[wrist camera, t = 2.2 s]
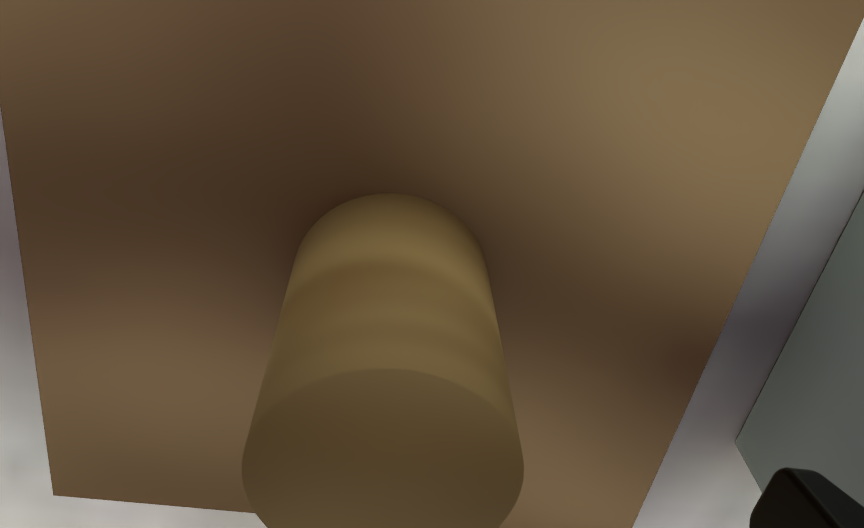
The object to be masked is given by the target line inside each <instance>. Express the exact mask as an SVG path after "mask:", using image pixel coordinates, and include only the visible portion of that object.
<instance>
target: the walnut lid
mask: <svg viewBox="0 0 864 528" xmlns="http://www.w3.org/2000/svg"><path fill="white" fill-rule="evenodd" d="M863 18H864V0H0V106H1V113H2V120H3V128H4V135H5V142H6V150H7V157H8V164H9V172H10V179H11V187H12V194H13V201H14V209H15V216H16V223H17V231H18V238H19V245H20V253H21V260H22V267H23V275H24V282H25V290H26V297H27V304H28V312H29V319H30V326H31V334H32V341H33V348H34V356H35V363H36V371H37V378H38V385H39V393H40V400H41V407H42V415H43V422H44V429H45V437H46V444H47V452H48V459H49V466H50V474H51V481H52V488H53V495H56V496H68V497H79V498H90V499H102V500H113V501H124V502H135V503H147V504H158V505H169V506H181V507H192V508H203V509H215V510H226V511H237V512H249V513H256V514H257V516H258V517H259V518H260V519H261V521H262V522H263V523H264V524H265V525H266V526H267V527H268V528H632V527H633V524H634V522H635V520H636V518H637V516H638V513H639V511H640V509H641V507H642V505H643V502H644V500H645V498H646V496H647V494H648V491H649V489H650V487H651V485H652V483H653V480H654V478H655V476H656V474H657V472H658V469H659V467H660V465H661V463H662V461H663V458H664V456H665V454H666V452H667V450H668V447H669V445H670V443H671V441H672V439H673V436H674V434H675V432H676V430H677V428H678V425H679V423H680V421H681V419H682V417H683V414H684V412H685V410H686V408H687V406H688V403H689V401H690V399H691V397H692V395H693V392H694V390H695V388H696V386H697V383H698V381H699V379H700V377H701V375H702V372H703V370H704V368H705V366H706V364H707V361H708V359H709V357H710V355H711V353H712V350H713V348H714V346H715V344H716V342H717V339H718V337H719V335H720V333H721V331H722V328H723V326H724V324H725V322H726V320H727V317H728V315H729V313H730V311H731V309H732V306H733V304H734V302H735V300H736V298H737V295H738V293H739V291H740V289H741V287H742V284H743V282H744V280H745V278H746V276H747V273H748V271H749V269H750V267H751V265H752V262H753V260H754V258H755V256H756V254H757V251H758V249H759V247H760V245H761V242H762V240H763V238H764V236H765V234H766V231H767V229H768V227H769V225H770V223H771V220H772V218H773V216H774V214H775V212H776V209H777V207H778V205H779V203H780V201H781V198H782V196H783V194H784V192H785V190H786V187H787V185H788V183H789V181H790V179H791V176H792V174H793V172H794V170H795V168H796V165H797V163H798V161H799V159H800V157H801V154H802V152H803V150H804V148H805V146H806V143H807V141H808V139H809V137H810V135H811V132H812V130H813V128H814V126H815V124H816V121H817V119H818V117H819V115H820V113H821V110H822V108H823V106H824V104H825V101H826V99H827V97H828V95H829V93H830V90H831V88H832V86H833V84H834V82H835V79H836V77H837V75H838V73H839V71H840V68H841V66H842V64H843V62H844V60H845V57H846V55H847V53H848V51H849V49H850V46H851V44H852V42H853V40H854V38H855V35H856V33H857V31H858V29H859V27H860V24H861V22H862V20H863Z"/></svg>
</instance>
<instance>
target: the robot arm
mask: <svg viewBox="0 0 864 528" xmlns="http://www.w3.org/2000/svg"><path fill="white" fill-rule="evenodd" d="M749 527H750V528H864V507H863V506H862V505H861V504H859V503H858V502H857V501H855V500H854V499H853V498H851V497H850V496H849V495H848V494H846V493H845V492H844V491H842V490H841V489H840V488H838V487H837V486H836V485H835V484H833V483H832V482H831V481H829V480H828V479H827V478H825V477H824V476H823V475H821V474H820V473H818V472H816V471H813V470H808V469H799V468H789V467H784V468H780V469H779V470H777V471H776V472H775V473H774V474H773V476H772V477H771V479H770V481H769V483H768V485H767V486H766V488H765V490H764V492H763V493H762V495H761V497H760V499H759V500H758V502H757V504H756V506H755V507H754V509H753V511H752V513H751V517H750V525H749Z"/></svg>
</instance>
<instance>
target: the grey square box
mask: <svg viewBox="0 0 864 528" xmlns="http://www.w3.org/2000/svg"><path fill="white" fill-rule="evenodd" d="M735 444H736V446H737V448H738V449H739V451H740V453H741V455H742V457H743V458H744V460H745V462H746V464H747V466H748V468H749V469H750V471H751V473H752V475H753V477H754V478H755V480H756V482H757V484H758V486H759V488H760V489H761V491H762V493H763V492H764V490H765V488H766V486H767V485H768V483H769V481H770V479H771V477H772V476H773V474H774V473H775V472H776V471H777V470H779V469H780V468H784V467H789V468H799V469H808V470H813V471H816V472H818V473H820V474H821V475H823V476H824V477H825V478H827V479H828V480H829V481H831V482H832V483H833V484H835V485H836V486H837V487H838V488H840V489H841V490H842V491H844V492H845V493H846V494H848V495H849V496H850V497H851V498H853V499H854V500H855V501H857V502H858V503H859V504H861V505H862V506H863V507H864V193H863V195H862V197H861V198H860V200H859V202H858V204H857V206H856V208H855V210H854V212H853V214H852V216H851V218H850V220H849V222H848V224H847V226H846V228H845V230H844V232H843V233H842V235H841V237H840V239H839V241H838V243H837V245H836V247H835V249H834V251H833V253H832V255H831V257H830V259H829V261H828V263H827V265H826V267H825V268H824V270H823V272H822V274H821V276H820V278H819V280H818V282H817V284H816V286H815V288H814V290H813V292H812V294H811V296H810V298H809V300H808V302H807V303H806V305H805V307H804V309H803V311H802V313H801V315H800V317H799V319H798V321H797V323H796V325H795V327H794V329H793V331H792V333H791V335H790V337H789V338H788V340H787V342H786V344H785V346H784V348H783V350H782V352H781V354H780V356H779V358H778V360H777V362H776V364H775V366H774V368H773V370H772V372H771V373H770V375H769V377H768V379H767V381H766V383H765V385H764V387H763V389H762V391H761V393H760V395H759V397H758V399H757V401H756V403H755V405H754V407H753V408H752V410H751V412H750V414H749V416H748V418H747V420H746V422H745V424H744V426H743V428H742V430H741V432H740V434H739V436H738V438H737V440H736V441H735Z"/></svg>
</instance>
